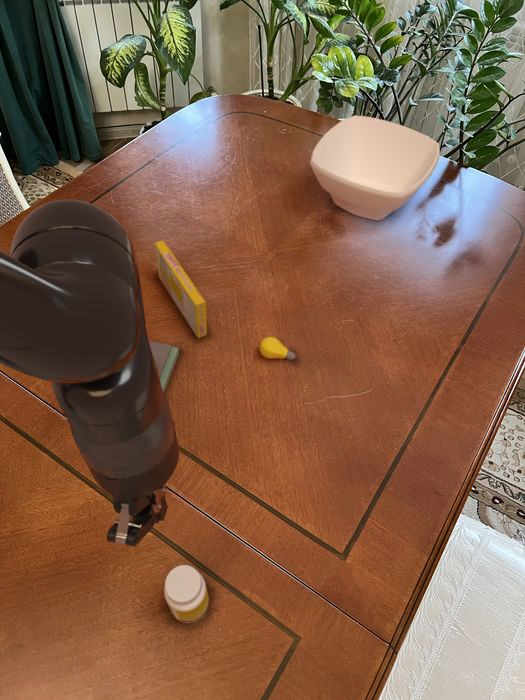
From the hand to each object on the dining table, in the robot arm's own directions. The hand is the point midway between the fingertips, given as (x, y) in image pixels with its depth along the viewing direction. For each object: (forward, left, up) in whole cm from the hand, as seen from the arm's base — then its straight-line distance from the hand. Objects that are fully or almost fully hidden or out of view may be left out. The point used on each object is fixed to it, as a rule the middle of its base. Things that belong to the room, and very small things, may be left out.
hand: (156, 513), depth 59 cm
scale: (+25, +15, -16) cm, 33 cm away
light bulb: (+35, -6, -17) cm, 39 cm away
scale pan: (+27, +14, -14) cm, 33 cm away
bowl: (+77, -16, -17) cm, 80 cm away
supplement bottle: (-4, -3, -17) cm, 18 cm away
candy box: (+42, +12, -17) cm, 47 cm away
